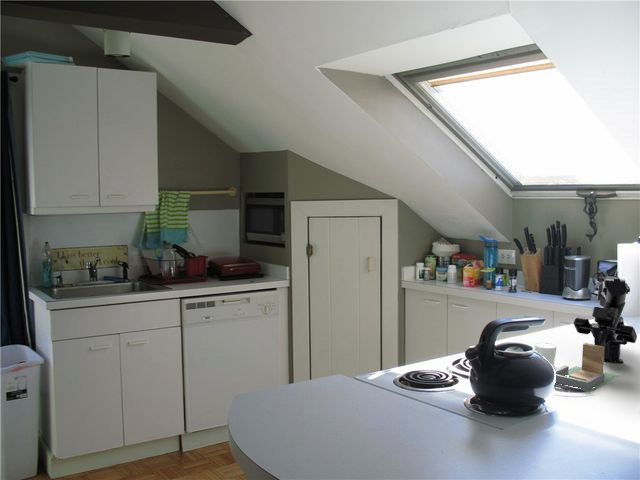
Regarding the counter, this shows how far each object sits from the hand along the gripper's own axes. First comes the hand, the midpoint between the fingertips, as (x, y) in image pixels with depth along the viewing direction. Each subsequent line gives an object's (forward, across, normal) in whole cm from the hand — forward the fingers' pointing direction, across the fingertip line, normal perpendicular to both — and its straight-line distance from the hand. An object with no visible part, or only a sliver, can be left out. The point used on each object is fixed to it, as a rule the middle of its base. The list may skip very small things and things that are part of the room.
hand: (596, 351), depth 219 cm
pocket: (+15, 0, -5) cm, 16 cm away
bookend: (+9, 0, 0) cm, 9 cm away
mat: (+12, 0, -2) cm, 12 cm away
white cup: (+8, -15, +2) cm, 17 cm away
